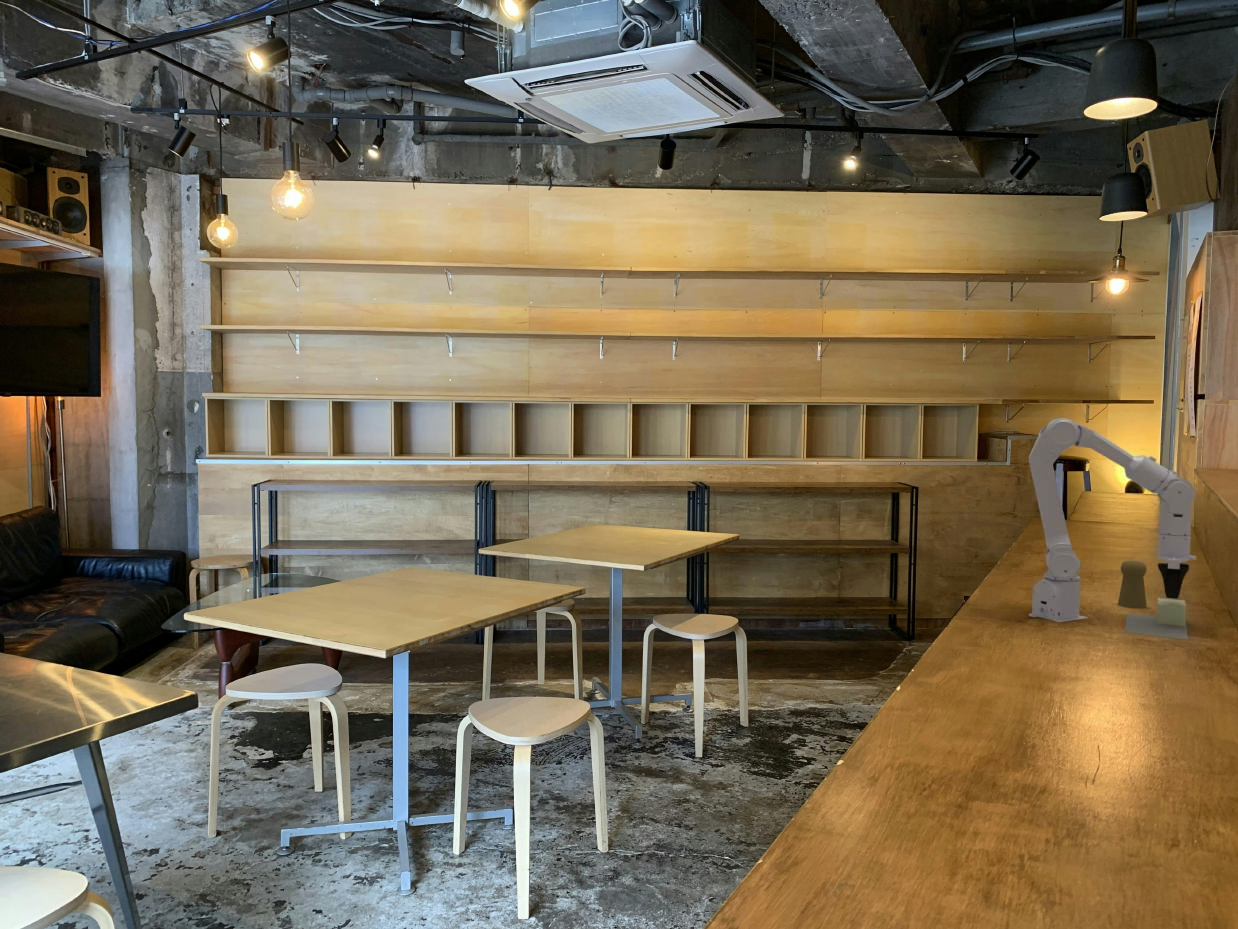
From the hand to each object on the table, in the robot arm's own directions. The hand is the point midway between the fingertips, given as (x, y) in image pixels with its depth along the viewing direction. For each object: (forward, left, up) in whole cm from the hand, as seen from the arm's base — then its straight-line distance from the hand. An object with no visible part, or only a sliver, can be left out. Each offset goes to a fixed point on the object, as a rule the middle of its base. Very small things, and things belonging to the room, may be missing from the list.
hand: (1172, 597), depth 189 cm
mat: (-4, 0, -6) cm, 8 cm away
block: (-1, 0, -4) cm, 4 cm away
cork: (+10, +15, -6) cm, 19 cm away
